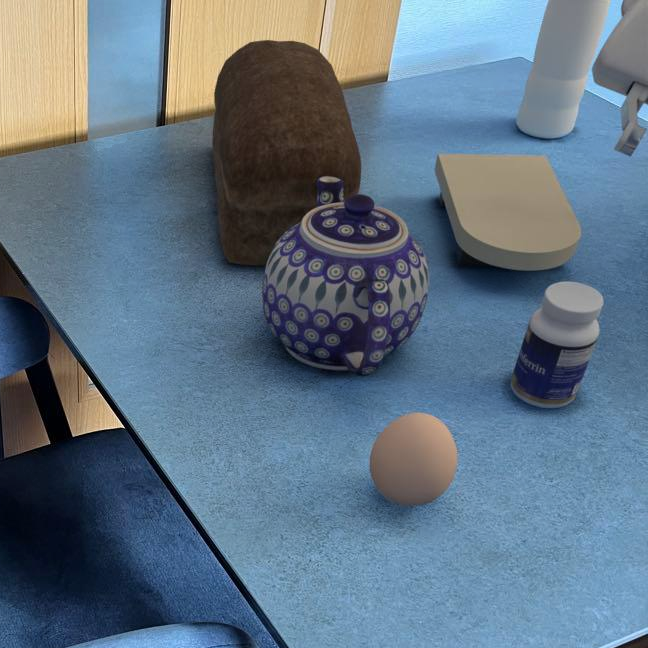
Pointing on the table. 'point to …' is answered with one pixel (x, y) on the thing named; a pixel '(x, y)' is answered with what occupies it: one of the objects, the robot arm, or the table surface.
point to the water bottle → (561, 66)
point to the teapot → (345, 283)
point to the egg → (413, 459)
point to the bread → (276, 143)
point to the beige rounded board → (507, 211)
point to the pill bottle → (557, 345)
